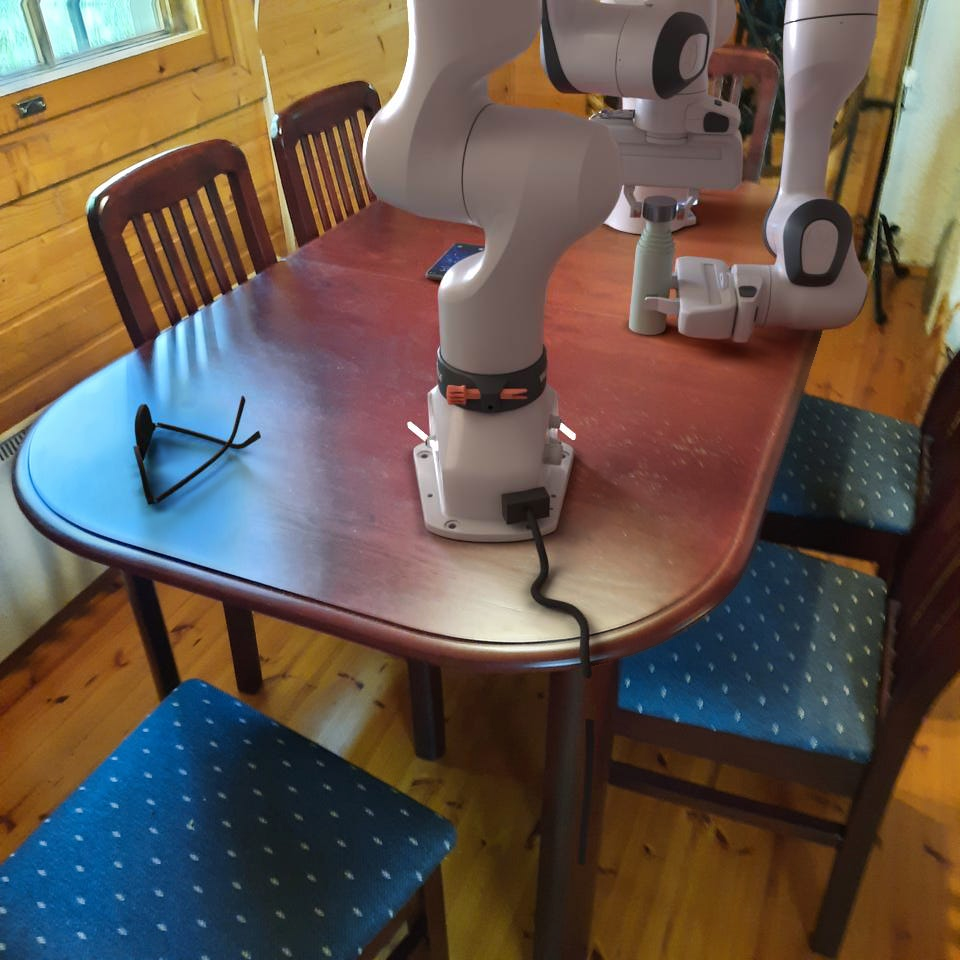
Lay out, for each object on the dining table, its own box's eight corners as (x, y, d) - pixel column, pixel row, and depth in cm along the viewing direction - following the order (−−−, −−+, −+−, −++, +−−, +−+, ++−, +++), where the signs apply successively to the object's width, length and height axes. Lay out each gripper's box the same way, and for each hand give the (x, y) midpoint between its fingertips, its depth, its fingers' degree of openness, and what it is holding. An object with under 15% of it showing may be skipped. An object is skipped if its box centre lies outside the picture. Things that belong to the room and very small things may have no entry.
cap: (671, 210, 119) (673, 194, 117) (679, 221, 115) (681, 205, 114) (639, 211, 119) (640, 195, 117) (646, 223, 115) (647, 207, 114)
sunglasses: (270, 486, 97) (262, 449, 94) (137, 510, 94) (125, 474, 91) (257, 411, 110) (250, 377, 107) (140, 430, 107) (130, 396, 104)
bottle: (672, 325, 127) (687, 205, 116) (652, 338, 124) (666, 216, 113) (641, 315, 130) (653, 197, 119) (621, 328, 127) (632, 208, 116)
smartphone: (493, 246, 151) (464, 280, 139) (493, 251, 151) (464, 285, 140) (454, 241, 153) (422, 274, 141) (454, 246, 153) (423, 279, 142)
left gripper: (584, 114, 108) (579, 221, 117) (751, 120, 104) (734, 231, 113) (591, 102, 113) (586, 205, 122) (751, 107, 109) (734, 214, 117)
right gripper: (739, 247, 128) (645, 244, 130) (754, 305, 112) (647, 301, 114) (733, 286, 132) (642, 283, 134) (746, 348, 116) (642, 344, 117)
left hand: (658, 218), depth 117 cm, fingers open, 5 cm apart
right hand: (644, 292), depth 124 cm, fingers closed on bottle, 5 cm apart
